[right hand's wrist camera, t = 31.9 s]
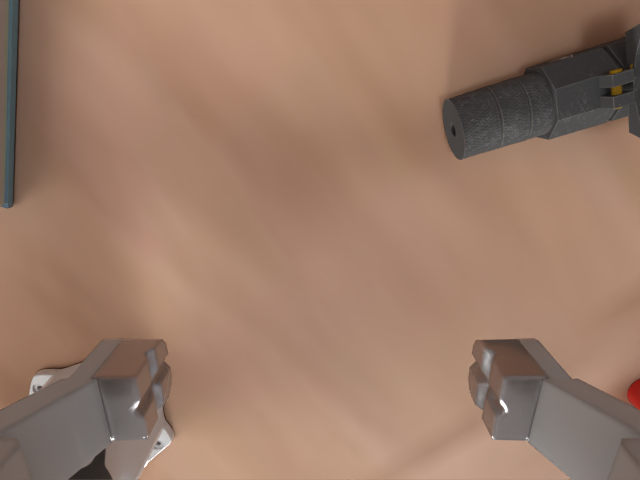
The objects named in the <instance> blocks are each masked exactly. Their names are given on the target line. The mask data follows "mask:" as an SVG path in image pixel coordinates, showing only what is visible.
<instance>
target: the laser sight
mask: <svg viewBox="0 0 640 480" xmlns="http://www.w3.org/2000/svg"><path fill="white" fill-rule="evenodd" d="M626 116H629V132H630V133H632V134H633V135H635V136H637V137H639V138H640V24H639V25H637V26H635V27H634V28H632V29H630V30H629V31H627V32H626V37H624V38H621V39H617V40H614V41H611V42H608V43H605V44H602V45H599V46H595V47H592V48H589V49H586V50H583V51H580V52H577V53H574V54H570V55H567V56H564V57H561V58H558V59H555V60H552V61H548V62H545V63H542V64H539V65H536V66H533V67H530V68H526V71H525V74H524V75H522V76H519V77H516V78H512V79H509V80H506V81H503V82H500V83H497V84H494V85H490V86H487V87H484V88H480V89H477V90H475V91H472V92H468V93H465V94H462V95H459V96H456V97H453V98H449V99H446V100H445V101H444V103H443V122H444V128H445V133H446V136H447V140H448V143H449V145H450V148H451V150H452V152H453V154H454V155H455V157H456V158H457V159H459V160H462V159H465V158H467V157H471V156H474V155H477V154H480V153H484V152H487V151H491V150H495V149H498V148H501V147H504V146H507V145H511V144H514V143H518V142H521V141H525V140H527V139H530V138H534V137H539V138H544V139H548V140H549V139H553V138H556V137H559V136H563V135H566V134H569V133H573V132H576V131H579V130H583V129H586V128H589V127H593V126H596V125H600V124H603V123H606V122H607V121H613V120H616V119H620V118H623V117H626Z"/></svg>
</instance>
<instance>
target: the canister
mask: <svg viewBox="0 0 640 480" xmlns="http://www.w3.org/2000/svg"><path fill="white" fill-rule="evenodd" d="M627 396H628V399H629V401H630V402H631V403H632V404H633V405H634V406H635V407H636V408H637V409H639V410H640V379H639V380H637V381H636V382H634V383H633V384H632V385H631V387H630V388H629V390H628V394H627Z"/></svg>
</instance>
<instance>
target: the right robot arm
mask: <svg viewBox="0 0 640 480" xmlns="http://www.w3.org/2000/svg"><path fill="white" fill-rule="evenodd" d="M167 354H168V351H167V346H166V342H165V341H164V340H163V339H104V340H102V341H101V342H100V343H99V344H98V345H97V346H96V347H95V349H94V350H93V351H92V352H91V353H90V354H89V355H88V357H87V358H86V359H85V360H84V361H83V362H82V363H79V364H76V365H73V366H70V367H67V368H64V369H42V370H39V371H38V372H37V373H36V374H35V375H34V377H33V378H32V381H31V386H30V391H29V396H27V397H25V398H23V399H21V400H19V401H17V402H15V403H13V404H11V405H9V406H7V407H5V408H3V409H1V410H0V480H138V478H139V477H140V475H141V473H142V471H143V469H144V467H145V466H146V465H147V463H148V462H149V461H150V460H151V459H153V458H154V457H155V456H156V455H157V454H159V453H160V452H161V451H162V450H163V449H164V448H166V447H167V446H168V445H169V444H170V443H171V441H172V439H173V438H174V432H173V430H172V428H171V427H170V425H169V424H168V423H167V421H166V420H165V417H164V412H163V405H165V403H166V401H167V399H168V397H169V393H170V388H171V369H170V367H169V366H168V365H167V364H166V363H165V362H164V360H165V358H166V356H167ZM472 354H473V356H474V358H475V360H476V362H475V363H474V364H473V365H472V366H471V367H470V369H469V377H468V380H469V390H470V393H471V397H472V399H473V401H474V403H475V405H477V406H478V407H479V408H481V409H482V410H483V414H482V419H483V421H484V423H485V425H486V427H487V429H488V431H489V433H490V435H491V437H492V439H493V440H524V441H528V443H530V444H531V445H532V446H533V447H534V448H535V449H537V450H538V451H539V452H540V453H541V454H542V455H544V456H545V457H546V458H547V459H548V460H550V461H551V462H552V463H553V464H554V465H555V466H557V467H558V468H559V469H560V470H561V471H563V472H564V473H565V474H566V475H567V476H568V477H570V478H571V479H572V480H640V410H639V409H637V408H635V407H633V406H631V405H629V404H627V403H625V402H623V401H621V400H619V399H617V398H615V397H613V396H611V395H609V394H607V393H605V392H603V391H601V390H599V389H597V388H595V387H593V386H591V385H589V384H587V383H585V382H583V381H581V380H580V379H572V378H571V377H570V376H569V375H568V374H567V373H566V372H565V370H564V369H563V368H562V367H561V366H560V365H559V364H558V362H557V361H556V360H555V359H554V358H553V357H552V356H551V354H550V353H549V352H548V351H547V350H546V349H545V348H544V346H543V345H542V344H541V343H540V342H539V341H538V340H536V339H534V338H528V339H505V340H476V341H475V343H474V345H473V350H472Z"/></svg>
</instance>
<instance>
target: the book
mask: <svg viewBox="0 0 640 480" xmlns="http://www.w3.org/2000/svg"><path fill="white" fill-rule="evenodd" d="M18 3H19V0H0V207H4V208H10V207H13V174H14V139H15V105H16V71H17V37H18Z"/></svg>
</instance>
